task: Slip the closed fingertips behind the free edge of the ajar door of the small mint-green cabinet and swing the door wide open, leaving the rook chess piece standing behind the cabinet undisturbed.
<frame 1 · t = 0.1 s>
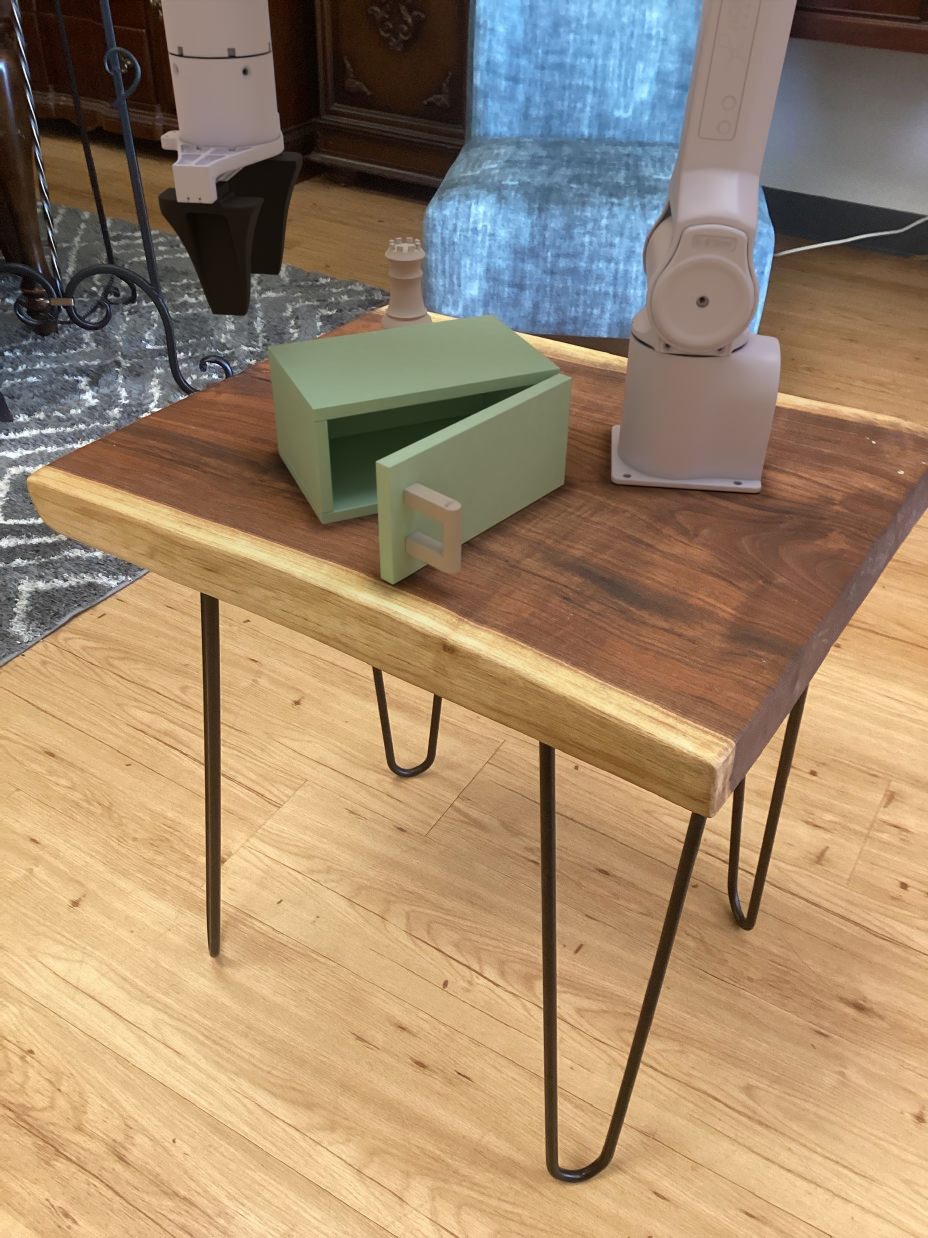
hand: (248, 292, 66), 10 cm above the table, tool pointing down, fingers open, 7 cm apart
door: (503, 483, 59), point 4 cm above the table, hinge at 25.0°
cabinet: (413, 466, 69), on the table
rook chess piece: (407, 341, 87), on the table
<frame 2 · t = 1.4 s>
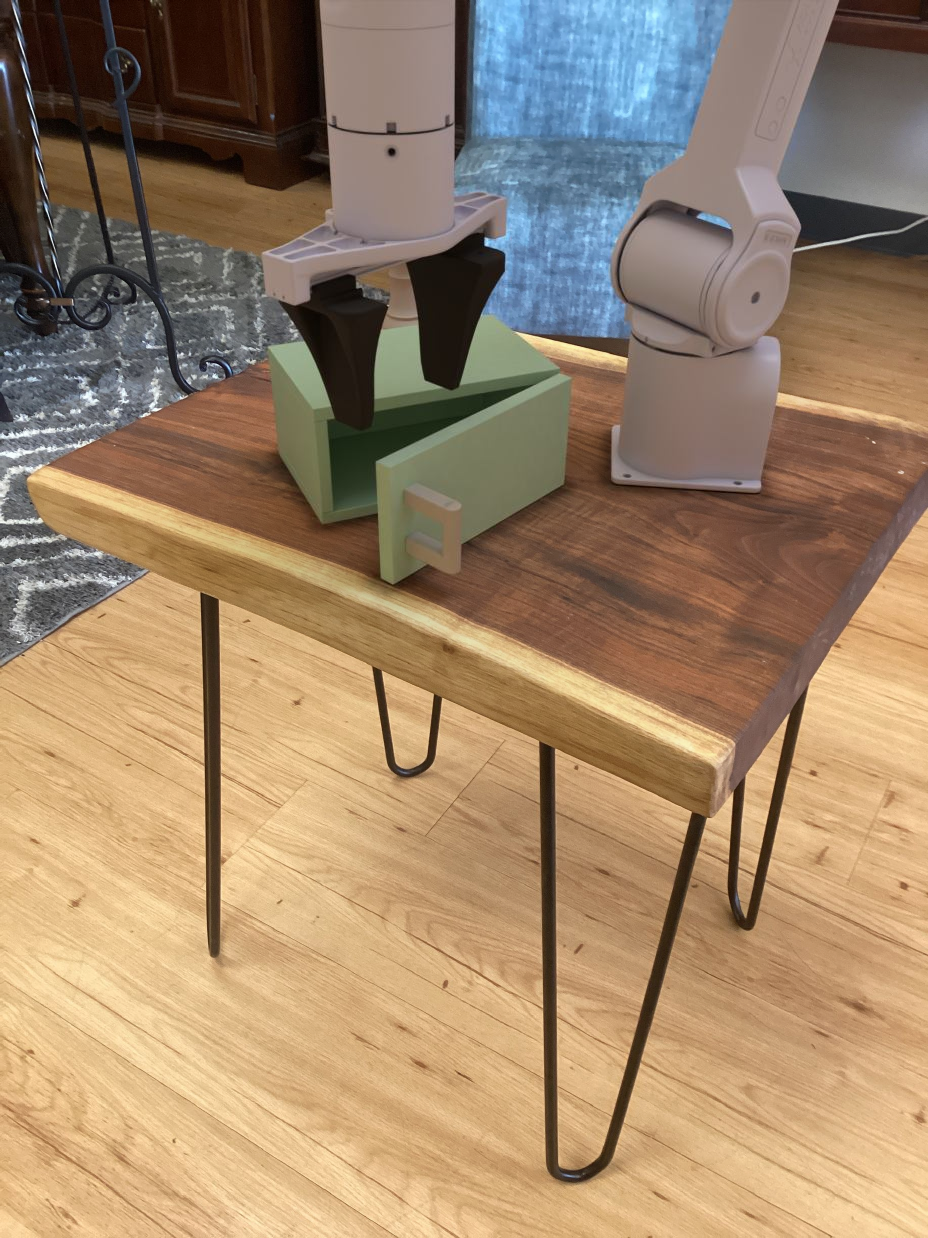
hand: (399, 402, 55), 9 cm above the table, tool pointing down, fingers open, 6 cm apart
nothing on the table moved.
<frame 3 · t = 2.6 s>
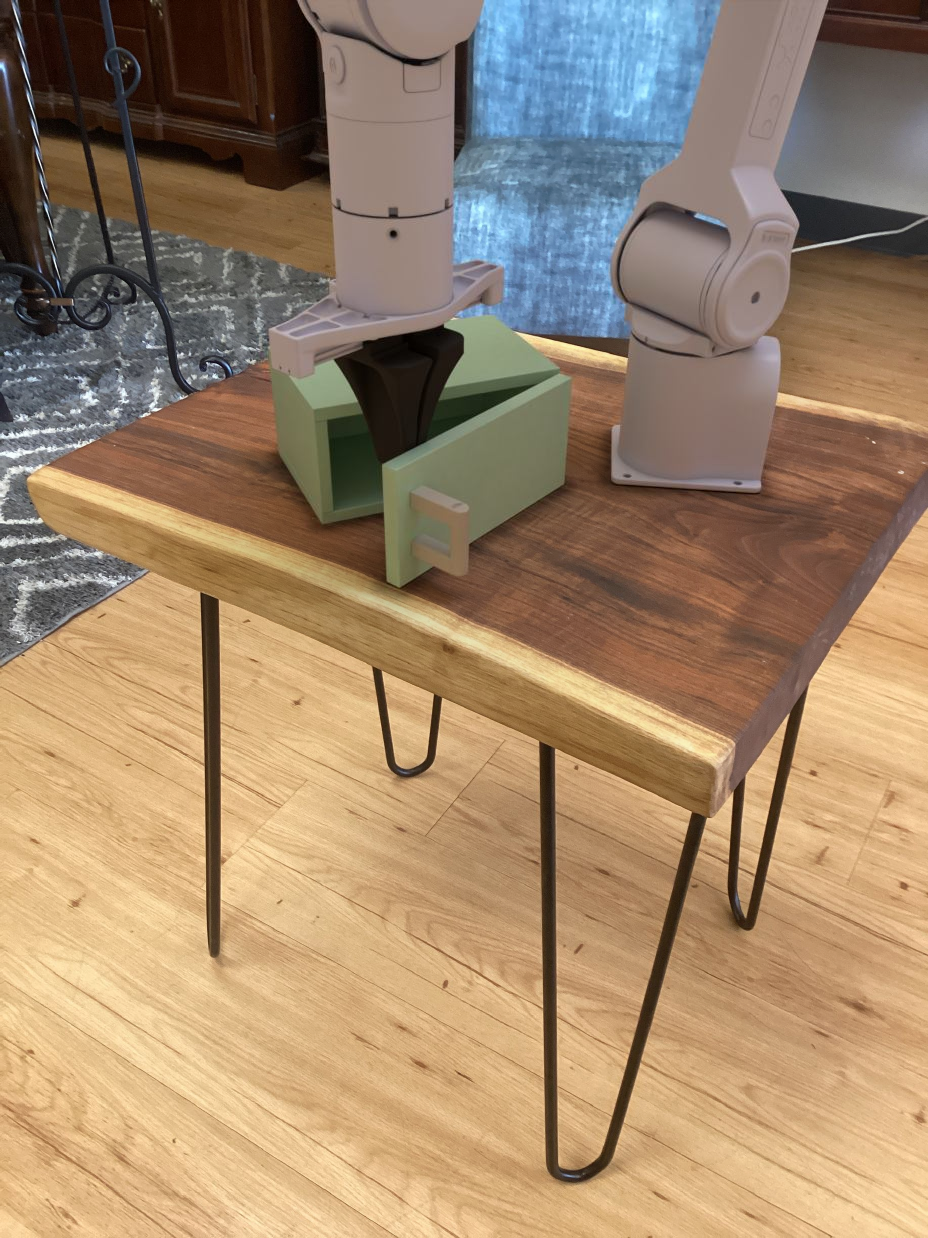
hand: (399, 462, 57), 6 cm above the table, tool pointing down, fingers closed
door: (507, 485, 59), point 4 cm above the table, hinge at 26.8°, touching gripper
everything else where it was.
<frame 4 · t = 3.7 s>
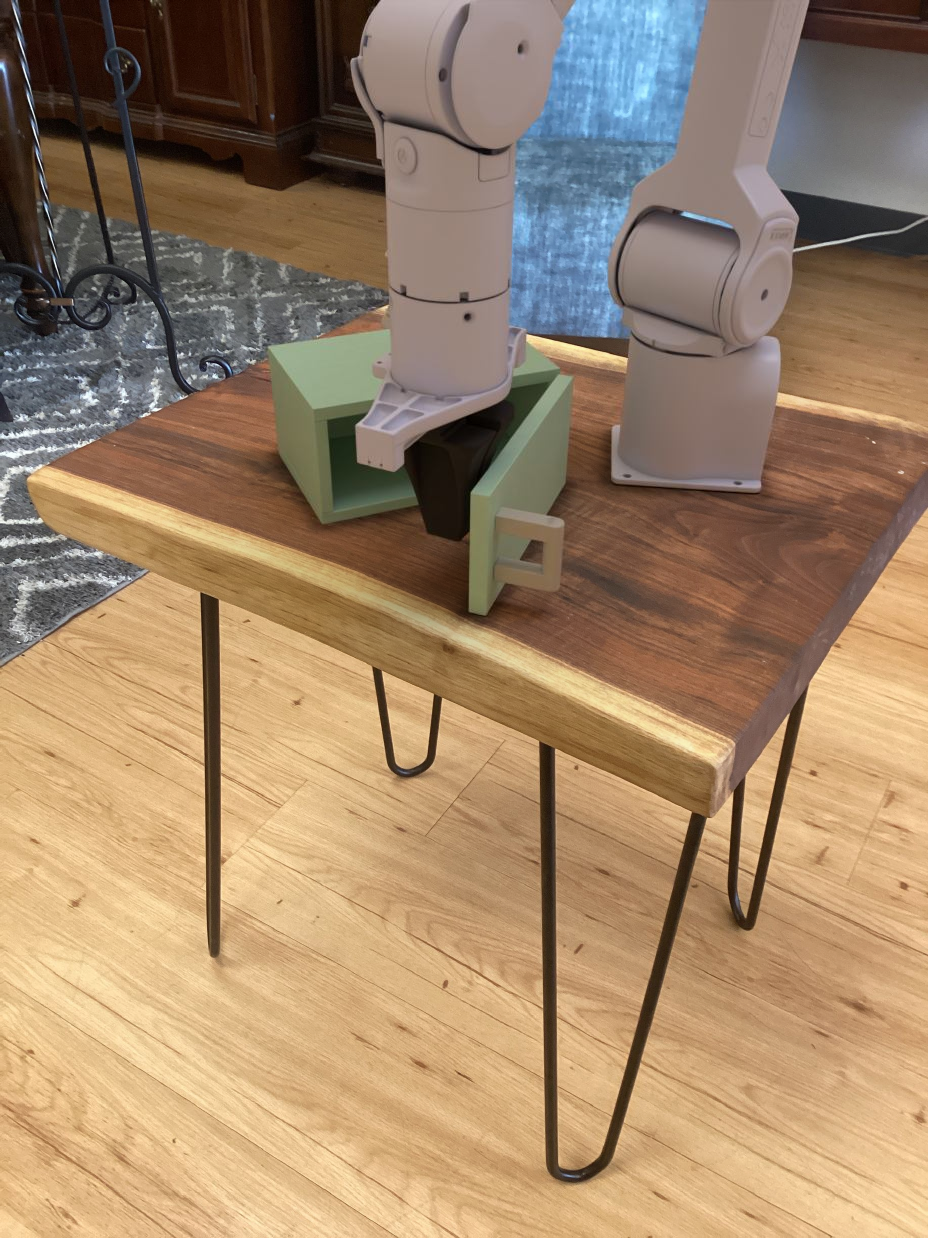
hand: (448, 532, 57), 3 cm above the table, tool pointing down, fingers closed, pressing on door
door: (554, 492, 59), point 4 cm above the table, hinge at 46.5°, touching gripper
everything else where it was.
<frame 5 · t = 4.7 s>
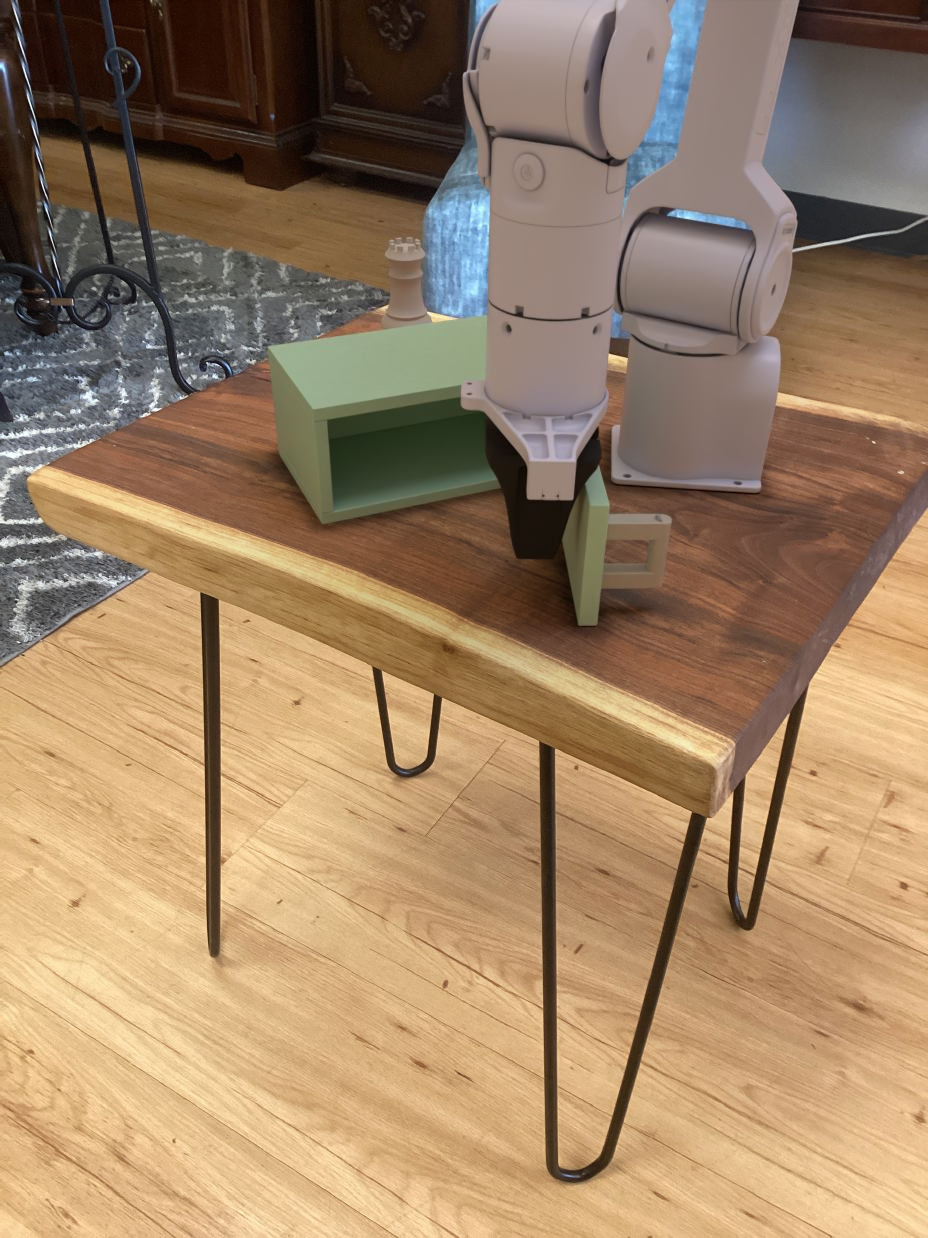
hand: (534, 552, 55), 3 cm above the table, tool pointing down, fingers closed, pressing on door
door: (607, 491, 59), point 4 cm above the table, hinge at 68.2°, touching gripper
everything else where it was.
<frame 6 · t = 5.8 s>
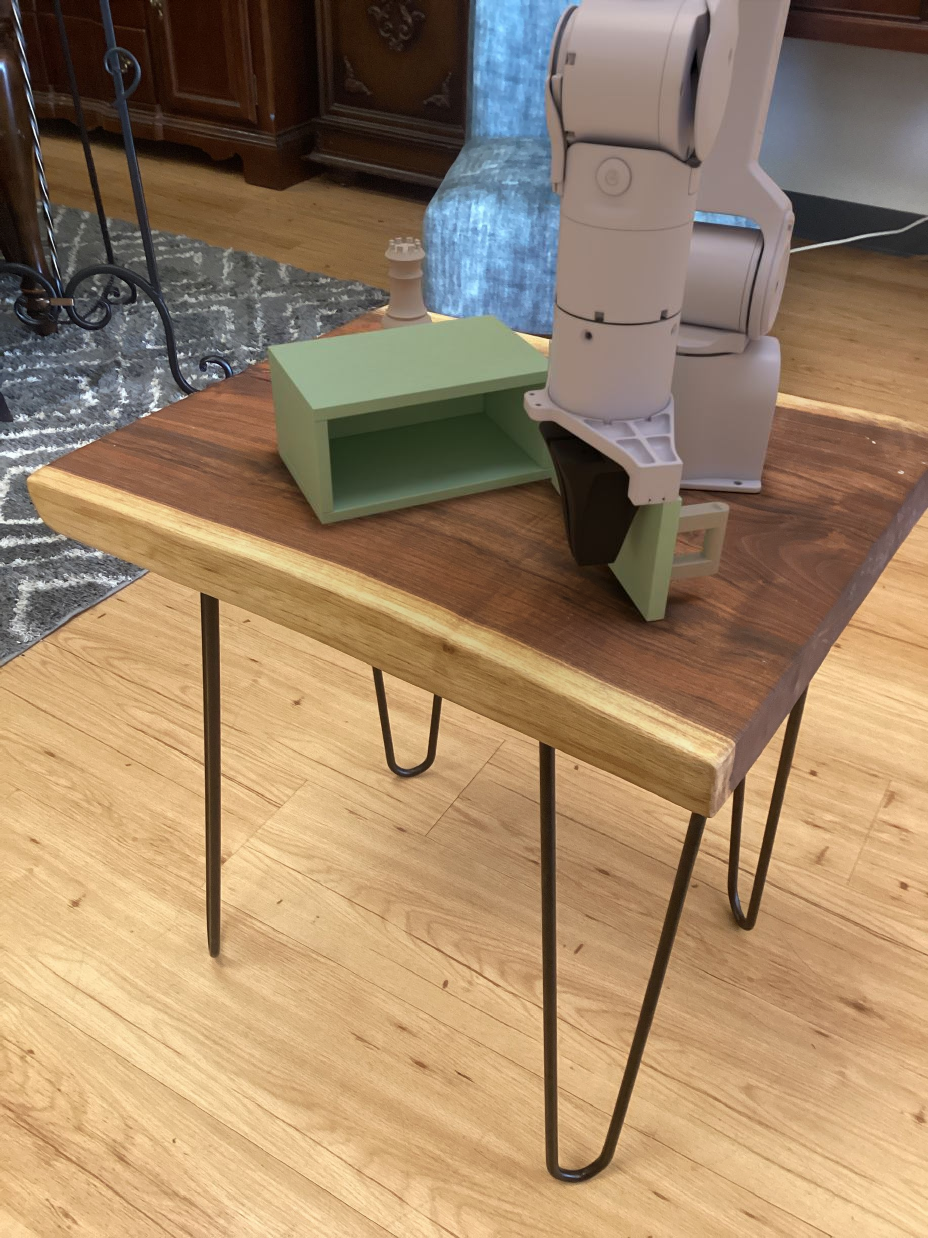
hand: (592, 556, 55), 3 cm above the table, tool pointing down, fingers closed
door: (636, 486, 59), point 4 cm above the table, hinge at 81.7°, touching gripper
everything else where it was.
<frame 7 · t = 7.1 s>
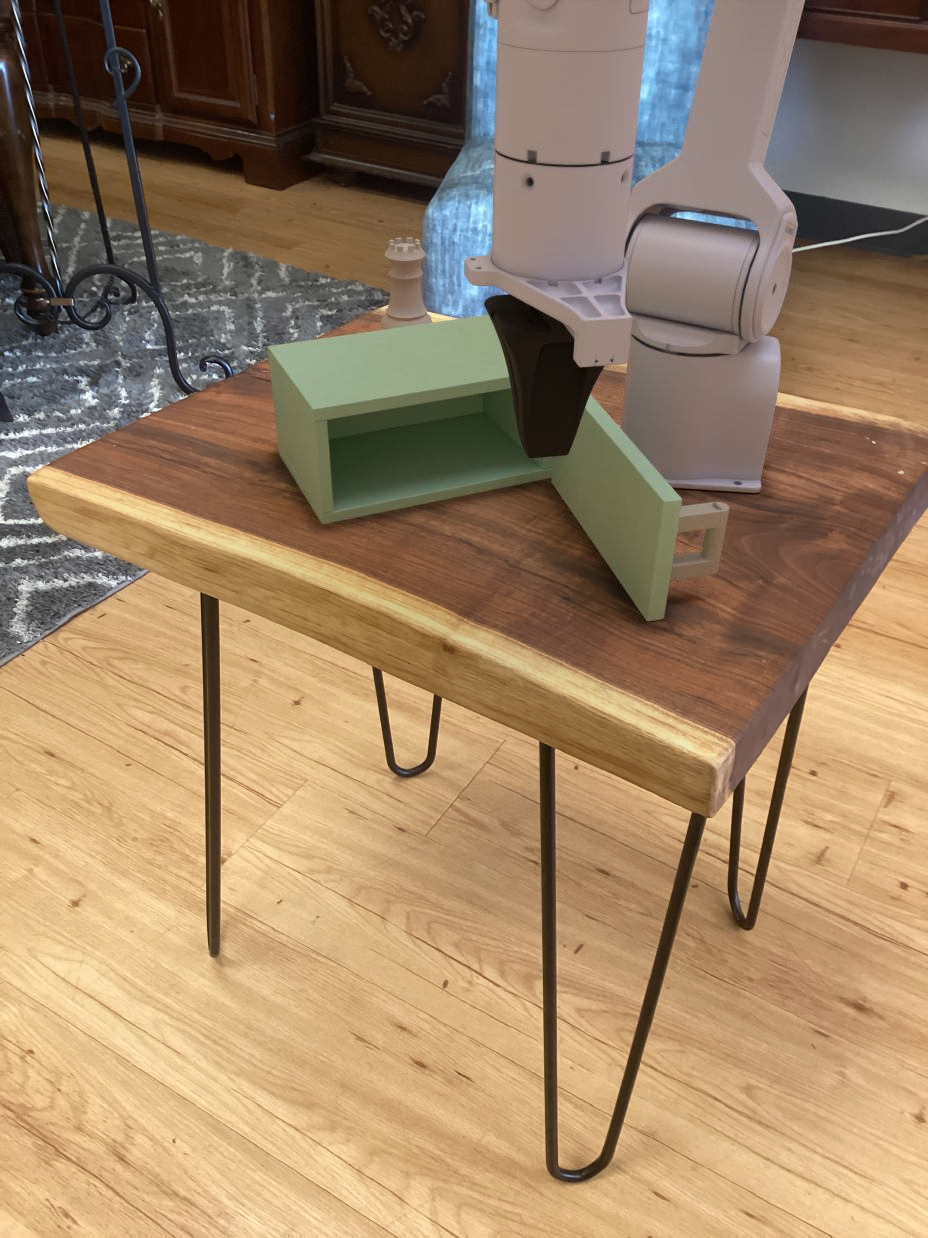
hand: (545, 450, 51), 9 cm above the table, tool pointing down, fingers closed
door: (636, 486, 59), point 4 cm above the table, hinge at 81.7°
everything else where it was.
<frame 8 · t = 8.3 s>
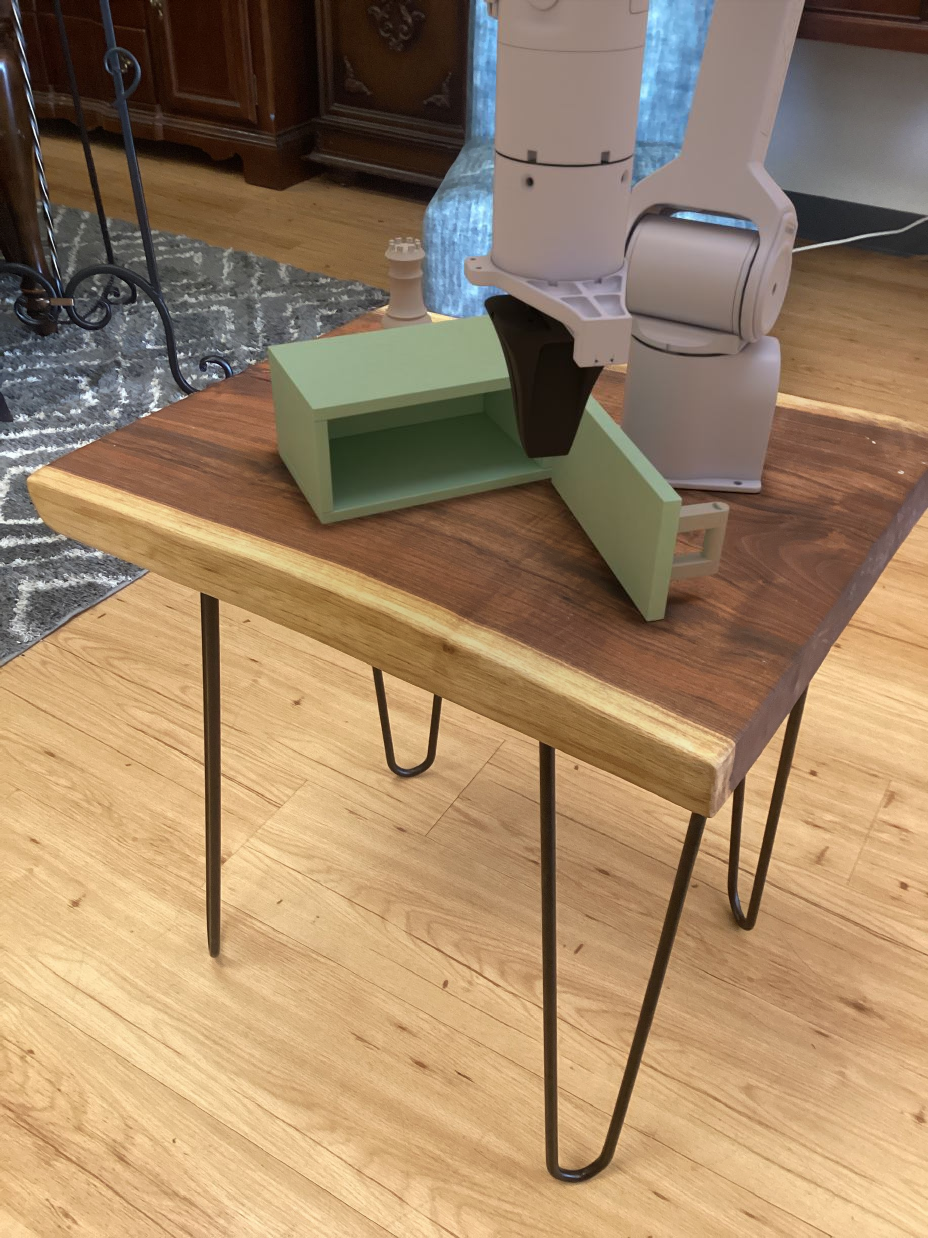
hand: (545, 450, 51), 9 cm above the table, tool pointing down, fingers closed
nothing on the table moved.
at the end: door at +82° (first picture: +25°); rook chess piece tilted 0°; rook chess piece moved 0.2 cm from its start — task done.
